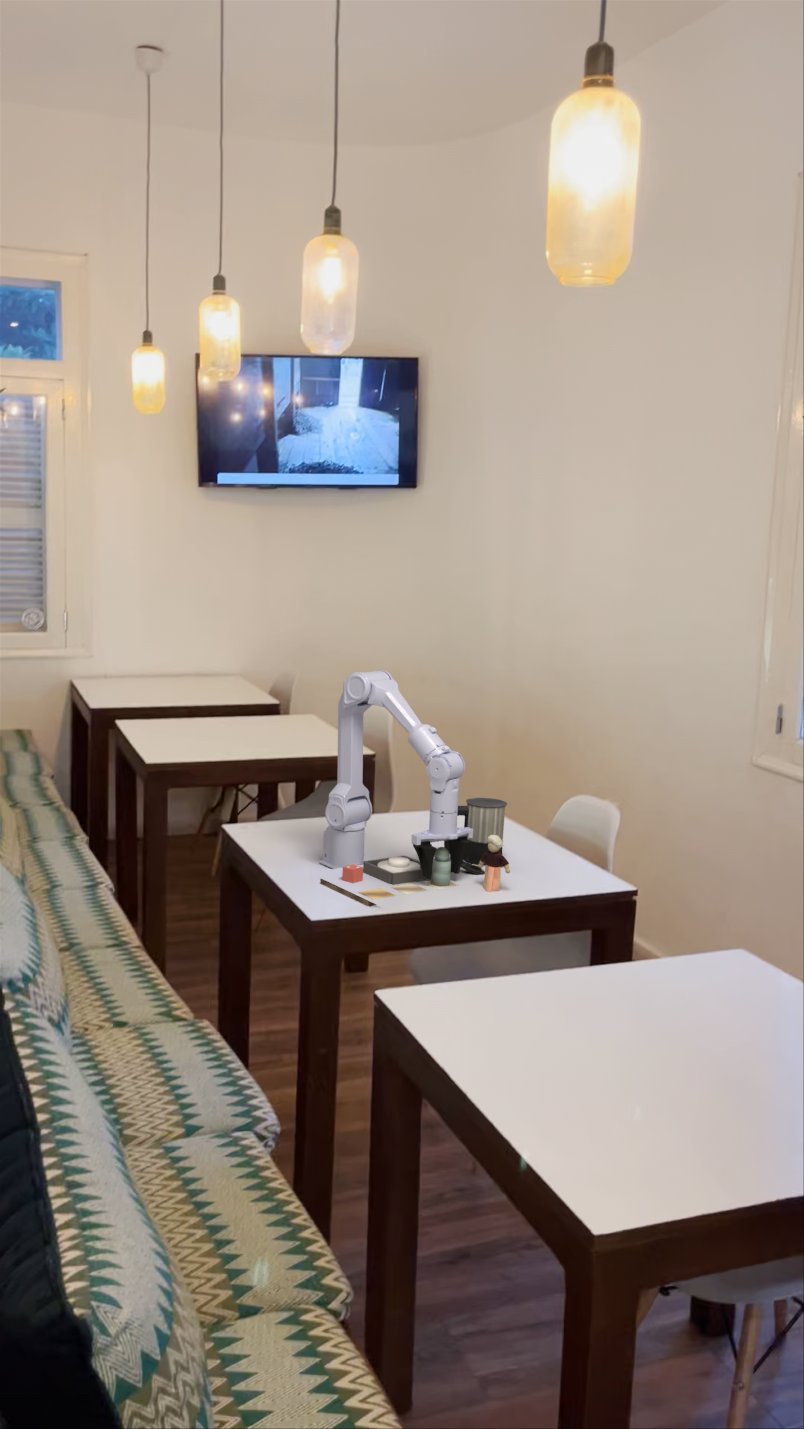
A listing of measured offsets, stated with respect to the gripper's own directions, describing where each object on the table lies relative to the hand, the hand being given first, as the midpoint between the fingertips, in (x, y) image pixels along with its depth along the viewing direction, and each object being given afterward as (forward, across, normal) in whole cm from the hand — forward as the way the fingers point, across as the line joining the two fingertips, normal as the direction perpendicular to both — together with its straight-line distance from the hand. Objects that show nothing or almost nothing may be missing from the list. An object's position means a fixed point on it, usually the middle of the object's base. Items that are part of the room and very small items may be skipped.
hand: (440, 874), depth 248 cm
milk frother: (+3, +17, +8) cm, 19 cm away
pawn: (+2, 0, 0) cm, 2 cm away
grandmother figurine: (+3, +7, -8) cm, 11 cm away
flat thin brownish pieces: (+3, -8, +6) cm, 10 cm away
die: (+3, -15, +10) cm, 19 cm away
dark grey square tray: (+3, -4, +10) cm, 11 cm away
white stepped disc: (+1, -4, +10) cm, 10 cm away
